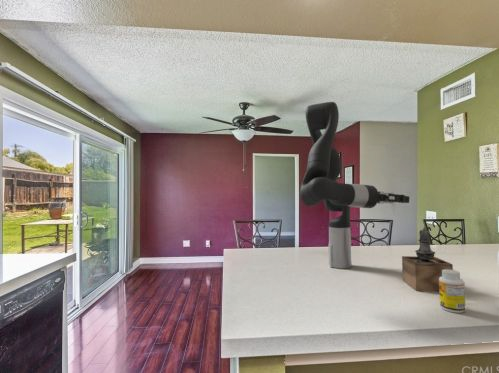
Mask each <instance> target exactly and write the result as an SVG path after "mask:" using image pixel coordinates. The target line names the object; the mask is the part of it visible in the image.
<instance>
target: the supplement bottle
mask: <svg viewBox="0 0 499 373" xmlns="http://www.w3.org/2000/svg"><path fill="white" fill-rule="evenodd" d="M438 293H439V305H440V307H441V309H443V310H444V311H446V312H450V313H456V314H462V313H465V312H466V297H465V296H466V294H465V293H466V292H465V281H464V279H462V278H461V272H460V271H458V270H456V269H453V270H447V269H445V270H442V276H441V277H440V278H439V292H438Z"/></svg>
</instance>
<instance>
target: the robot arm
mask: <svg viewBox="0 0 499 373" xmlns="http://www.w3.org/2000/svg"><path fill="white" fill-rule="evenodd" d="M339 112H340V111H339V108H338V105H337V103H336V102H335V101H327V102H321V103H316V104H315V103H314V104H309V105H308V106H307V107H306V109H305V121H306V125H307V128H308V132H309V135H310V138H311V141H312V147H311V148H310V151H309V152H308V156H307V162H306V163H307V164H306V171H305V173H304V176H303V179H302V182H301V185H300V189H299V197H300V200H301V202H302V203H303V204H304V205H305V206H306V207H307V206H308V207H315V206H317V205H319V204H321V203H322V202H324V207H325V209H326V211H328V212H332V213H333V212H335V213H336V212H341V215H340V216H338V217H335V218H332V219H330V220H329V221H328V265H329V267H330V268H336V269H350V268H352V262H353V261H352V239H351V238H352V236H351V208H362V209H373V208H375V207H376V206H377V204H381V205H382V204H394V203H398V204H409V203H410V196H408V195H405V194H396V193H393V192H385V191H378V189H377V188H376V186H374V185H369V184H360V183H342V182H338V181H336V180H338V177H339V176H340V174H341V172H342V170H343V167H342V161H341V155H340V153H339V151H338V150H337V149H336V147H334V146H333V144H334V142H335V137H336V134H337V130H338V125H339V119H340V118H339V116H340V114H339ZM322 130H324V131H323V133H322Z"/></svg>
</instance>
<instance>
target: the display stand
mask: <svg viewBox="0 0 499 373" xmlns="http://www.w3.org/2000/svg"><path fill="white" fill-rule="evenodd" d="M417 260H421V259H420V258H418V257H417V256H415V255H414V256H411V255H410V256H409V255H406V256H404V255H403V256H401V261H402V262H401V266H402V272H401V273H402V281H403V282H404V283H405V284H407V285H408V286H409V287H411V289H413V290H415V292H436V293H440V292H439V278H440V277H441V276H442V270H445V269H447V270H454V267H453V266H454V265H453V264H454V263H451V262H448V261H445V260H443V259H441V258H438V257H436V256H434V258H433V259H431V261H433V262H434V263H418V262H416V261H417Z"/></svg>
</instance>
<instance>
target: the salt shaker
mask: <svg viewBox="0 0 499 373" xmlns="http://www.w3.org/2000/svg"><path fill="white" fill-rule="evenodd" d="M418 242H419V248H418V249H417V250H415V251H414V253H416V257H418V258H420V259H421V260H417V261H416V262H418V263H434V262H433V261H431V259H433V258H434V257H435V255H436V252H435V251H433V250H432V248H431V242H432V240H430V231H429V230H427V229H426V227H424V226H423V227H422V229H421V230H419V239H418Z"/></svg>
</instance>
